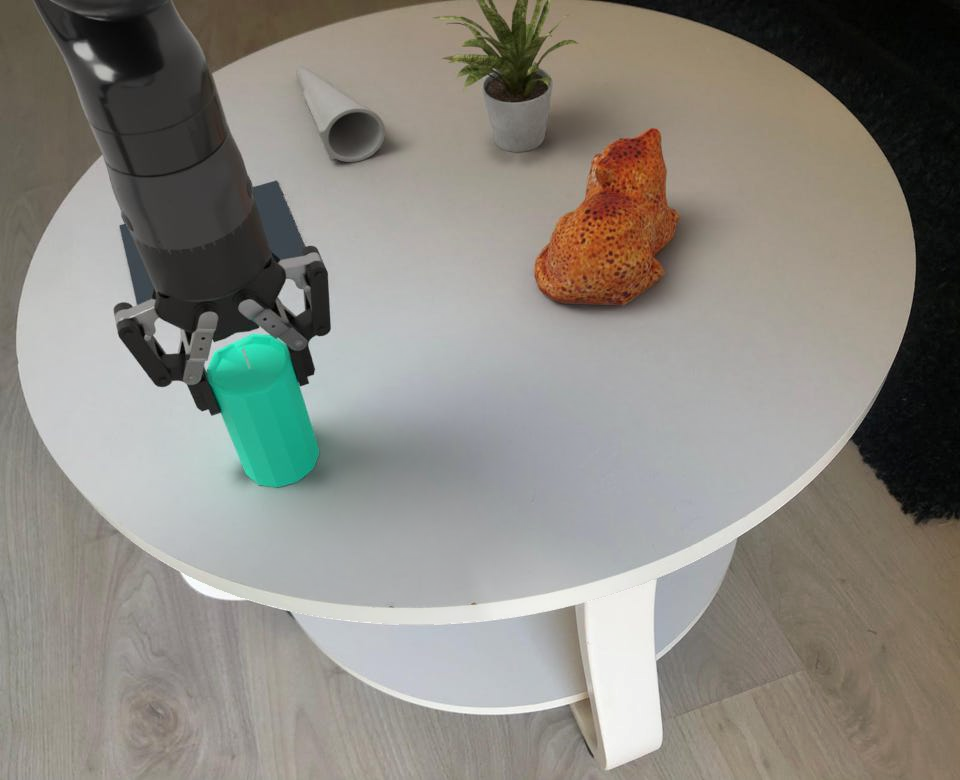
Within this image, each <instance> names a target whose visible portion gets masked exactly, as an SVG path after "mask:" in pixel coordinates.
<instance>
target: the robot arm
mask: <svg viewBox="0 0 960 780" xmlns="http://www.w3.org/2000/svg"><path fill="white" fill-rule="evenodd" d="M32 2H33V4H34V6H35V7H36V10H37V12H38V13H39V15H40V17H41V19H42V21H43V23H44V24H45V27H46V28H47V30H48V32H49V34H50V36H51V38H52V39H53V41H54V43H55V45H56V46H57V48H58V50H59V52H60V53H61V57H62V58H63V60H64V62H65V65H66V67H67V69H68V71H69V74H70V76H71V77H70V78H71V79H72V83H73V85H74V87H75V91H76V93H77V96H78V99H79V102H80V106H81V108H82V111H83V113H84V114H83V115H84V117H85V118H86V120H87V122H88V125H89V127H90V130H91V132H92V135H93V136H94V138H95V140H96V143H97V146H98V148H99V150H100V153H101V155H102V157H103V160H104V163H105V167H106V171H107V175H108V176H109V182H110V186H111V189H112V192H113V194H114V198H115V200H116V202H117V206H119V210H120V217H121V220H122V222H123V224H125V225H126V227H127V228H128V230H129V231H130V233H131V235H132V238H133V240H134V242H135V244H136V247H137V249H138V251H139V254H140V256H141V258H142V261H143V263H144V265H145V268H146V270H147V272H148V275H149V277H150V279H151V281H152V284H153V286H154V289H153V293H152V299H150V300H148V301H145V302H143V303H141V304H139V305H137V304H136V305H134V306H133V305H132V304H131V303H130V302H125V301H124V302H123V301H122V302H119V303H117V304H116V305H114V307H113V315H114V321H115V326H116V331H117V335H118V336H117V337H118V338H119V339H120V341H121V342H122V343H123V345H124V346H125V347H126V348H127V350H128V351H129V352H130V354H131V355H132V356H133V358H134V359H135V360H136V362H137V363H138V364H139V366H140V367H141V368H142V370H143V371H144V373H145V374H146V375H147V376H148V377H149V379H150V381H152V383H153V384H154V386H156V387H157V388H165V387H168V386H170V385H171V384H172V382H182V383H184V384H186V386H187V389H188V390H189V393H190V396H191V397H192V400H193V402H194V404H195V406H196V409H198V410H199V411H201V412H205V411H208V412H209V414H210V416H211V417H213V416H216V415H219V414H221V411H220V409H219V406H218V404H217V401H216V399H215V397H214V394H213V392H212V389H211V387H210V384H209V381H208V377H207V368H206V366H205V363H206V362H208V360H209V357H210V353H211V348H212V343H217V342H219V341H223V340H226V339H228V338H229V337H231V336H233V335H235V334H239V333H248V332H252V331H255V330H259V329H260V328H261V329H262V330H263V331H264V332H266V333H267V334H268V335H271V336H272V337H274V338H275V339H277V338H278V339H279V340H280V341H282V342H283V343H284V344H286V345H287V348H288V351H289V354H290V357H291V360H292V364H293V367H294V370H295V373H296V376H297V379H298V382H299V386H300V388H301V387H303V386H307V385H309V384H310V381H309V377H312V376H314V375H315V372H316V367H315V364H314V360H313V357H312V354H311V349H310V347H309V344H310V341H311V340H312V339H313V338H314V337H316V336H317V337H324V336H327V335H328V334H329V333H330V332H331V329H332V323H331V322H332V321H331V306H330V303H331V302H330V289H329V287H330V286H329V272H328V270H327V268H326V267H327V266H326V265H325V263H324V260H323V258H322V255H321V253H320V251H319V249H318V248H317V246H314V245H307V246H305V248H303V249H302V251H301V256H300V257H294V258H289V259H283V260H280V258H279V257H278V256H277V255H275V254H274V253H273V252H272V251H271V250H270V247H269V243H268V240H267V237H266V234H265V230H264V227H263V224H262V220H261V217H260V214H259V211H258V207H257V204H256V201H255V197H254V194H253V187H254V186H253V182H252V180H251V178H250V176H249V175H248V170H247V168H246V164H245V161H244V158H243V156H242V153H241V151H240V149H239V146H238V144H237V142H236V140H235V138H234V136H233V134H232V132H231V129H230V126H229V123H228V120H227V117H226V114H225V111H224V107H223V105H222V100H221V98H220V95H219V91H218V88H217V83H216V81H215V78H214V75H213V73H212V69H211V66H210V64H209V61H208V59H207V57H206V55H205V52H204V50H203V49H202V47H201V45H200V43H199V41H198V40H197V38H196V37H195V36H194V34H193V33H192V31H191V30H190V28H189V27H188V26H187V25H186V23H185V22H184V20H183V18H181V15H180V13H179V12H178V10H177V8H176V6H175V3H174V1H173V0H32ZM286 280H292V281H293V282H294V284H295V286H296V288H298V289H299V290H303V301H304V311H302V312H300V313H298V314H297V315H296V314H295V313H293V312H292V311H291V310H290V309H289V308H288V307H287V306H285V305H284V303H283V302H282V301H281V299H280V298H279V295H280V294H281V291H282V290H283V287H284V285H285V284H286ZM158 319H160V320H162V321H164V322H166V323H168V324H170V325H172V326H174V327H176V328H179V329H180V337H179V343H178V349H177V353H167V352H166V351H165V350H164V348H163V347H162V345H161V344H160V342H158V340H157V338H156V337H155V336H154V335H155V334H156V331H157V329H156V325H155V323H156V321H157V320H158Z"/></svg>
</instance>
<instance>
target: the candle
mask: <svg viewBox="0 0 960 780" xmlns="http://www.w3.org/2000/svg"><path fill="white" fill-rule="evenodd" d="M206 371H207V377H208V381H209V384H210V387H211V389H212V392H213V394H214V397H215V399H216V401H217V404H218V406H219V409H220V411H221V413H220V415H221V417H222V419H223V420H222V421H223V422H224V426H225V427H226V430H227V432H228V435H229V437H230V440H231V443H232V445H233V447H234V449H235V451H236V454H237V457H238V459H239V461H240V464H241V466H242V468H243V471H244V473H245V475H246V476H247V477H248V478H250V479H251V480H252V481H253V482H254V483H256V485H258V486H264V487H272V488H281V487H286V486H287V485H291V484H295V483H298V482H300V481H301V480H302V479H303V478H304V477H306V476H307V475H308V474H310V473H311V471H313V470H314V468H315V465H316V463H317V460H318V459H319V456H320V450H319V444H318V442H317V438H316V435H315V431H314V428H313V425H312V422H311V418H310V415H309V412H308V408H307V406H306V405H307V404H306V403H305V399H304V397H303V396H304V395H303V392H302V389H301V387H300V385H299V382H298V379H297V376H296V373H295V370H294V367H293V364H292V360H291V357H290V354H289V351H288V348H287V345H286V344H285V343H284V342H283V341H281V340H280V339H279V338H277V339H275V338H274V337H272V336H271V335H270V334H262V333H251V334H248V335H246V336H244V337H243V338H240V339H238V340H236V341H233V342H231V343H229V344H227V345H226V346H224V347H221V348H219V349H217V350H215V351H214V352H213V354H212V356H211V359H210V361H209V364H208V366H207V368H206Z"/></svg>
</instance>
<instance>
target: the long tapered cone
mask: <svg viewBox="0 0 960 780" xmlns="http://www.w3.org/2000/svg"><path fill="white" fill-rule="evenodd" d="M295 72H296V73H295V74H296V75H295V76H296V78H297V80H298V82H299V85H300V87H301V90H302V93H303V96H304V100H305V103H306V105H307V107H308V110H309V112H310V115H311V117H312V119H313V122H314V124H315V127H316V129H317V132H318V135H319V137H320V140H321V142H322V144H323V147H324V149H325V151H326V154H327V156H328V158H329V160H330V161H334V160H338V161H341V162H344V163H345V162H346V163H356V162H361V161H364V160H366V159H368V158H370V157H372V156H373V155H374V154H375V153H377V151H378V150H379V149H380V148H381V146H382V145H383V143H384V140H385V135H386V128H385V127H386V126H385V123H384V121H383V119H382V118H381V117H380V116H379V115H378V113H376V112H375V111H374V110H372V109H370V108H369V107H367V106H366V105H364V104H363V103H361V102H359V101H358V100H356V99H355V98H354V97H352V96H350V95H349V94H347V93H346V92H344V91H343V90H341V89H340V88H338V86H335V85H334V84H332V83H331V82H329V81H328V80H327V79H325V78H323V77H322V76H320V75H319V74H317V73H316V72H314V71H313V70H311V69H309V68H307V67H306V66H304V65H303V66H302V65H300V66H298V67H297V68H296V71H295Z"/></svg>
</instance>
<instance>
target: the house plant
mask: <svg viewBox="0 0 960 780" xmlns="http://www.w3.org/2000/svg"><path fill="white" fill-rule="evenodd" d="M486 1H487V2H486ZM476 2H477V3H478V5H479V8H480V10H481V12H482V13H483V15H484V17H485V19H486V20H487V22H488V23H489V25H490V27H491V29H492V30H493V32H494V34H495V36H496V37H497V39H495V38H494V37H493V36H492V35H491V34H490V33H489V32H488V31H487V30H486V29H484V28H483V27H482V26H481V25H479V24H478V23H477V22H475V21H474V20H472V19H469V18H467V17H465V16H462V15H439V16H435V17H433V19H438V20H439V19H442V20H455V21H461V22H448V23H447V25H461V26H465V27H467V29H469V30H470V31H471V34H473V35H474V37H473V38H471V39H468V40H466V41H464V42H463V43H462V44H461V46H460V48H468V47H472V48H479V49H482V51H483V52H484V53H485V54H475V53H474V54H473V53H465V54H455V55H450V56H445V57H442V58H441V60H445V61H446V60H447V61H448V62H447V63H450V64H451V63H453V64H455V63H459V64H460V63H461V64H466V65H465V66H464V67H462V68H461V69H460V71H459V72H458V74H457V75H456V77H455V79H454V80H457V78H459V77H462V76H466V75H467V77H466V80H465V82H464V85H463V89H462V91H464V90H465V89H466V88H467V87H469V86H471V85H473V84H475V83H477V82H478V81H480V80H482V79H483V80H482V81H481V85H480V86H481V87H480V89H481V93H482V96H483V100H484V104H485V107H486V112H487V116H488V120H489V123H490V127H491V131H492V135H493V139H494V142H495V144H496V145H497V146H498V147H499V148H500V149H502V150H504V151H507V152H510V153H511V152H512V153H525V152H528V151H532V150H534V149H536V148H539V146H541V145H542V144H543V142H544V141H545V136H546V133H547V132H546V131H547V125H548V118H549V110H550V106H551V105H550V104H551V99H552V98H551V97H552V92H553V86H554V85H553V84H554V83H553V78H552V77H551V75H550V74H549V73H548V72H547V71H546V70H544V69H542V68H541V67H540V64H541V62H542V61H543V60H544V59H545V57H546V56H548V54H550V53H552V52H553V51H554V50H556V49H559V48H561V47H564V46H567V45H571V44H576V45H579V46H581V48H582V45H581V44H580V43H579V42H578V41H576V40H574V39H564V40H561V41H559V42H557V43H556V44H554V45H553V46H551V47H549V48H548V49H547V50H546V51H545V52H544V53H543V54H542V55H541V57H540V58H539V60H538V61H537V62H536V61H535V59H536V58H537V55H538V53H539V51H540V50H541V48H542V46H543V44H544V43H545V41H546V40H547V38H548V37H551V38H552V32H554V30H556V28H557V27H558V26H559V24H560V23H561V22H562V21H563V20H565V18H567V17H568V16H569V15H570V14H571V13H572V11H571V12H570V13H569V14H567V15H566V16H564V17H563V18H561V19H559V21H558V22H557V23H556V25H554V26H553V28H551V30H550V31H548V33H546V34H545V35H543V36H540V34H541V31H542V28H543V26H544V24H545V21H546V20H547V16H548V14H549V12H550V7H551V3H552V0H546V1H545V2H544V5H543V0H536V3H535V6H534V10H533V13H532V16H531V20H530V23H527V13H528V12H527V11H528V4H529V0H516V2H515V5H514V8H513V11H512V16H511V28H510V27H509V24H508V23H507V22H506V20H505V18H503V17H502V15H501V14H499V12H498V10H497V7H496V5H495V3H494V1H493V0H476ZM487 3H488V4H487ZM488 5H489V6H490V7H489V6H488ZM542 6H543V7H542ZM541 9H542V10H541ZM540 12H541V13H540ZM538 17H539V18H538ZM537 21H538V22H537ZM473 26H474V27H473ZM478 29H479V30H480V31H481V32H482V33H484V34H485V35H486V36H483V35H482V33H481V32H480V31H479V30H478ZM487 42H489V43H490V44H491V45H490V44H488V43H487ZM493 47H494V48H495V49H494V48H493Z"/></svg>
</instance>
